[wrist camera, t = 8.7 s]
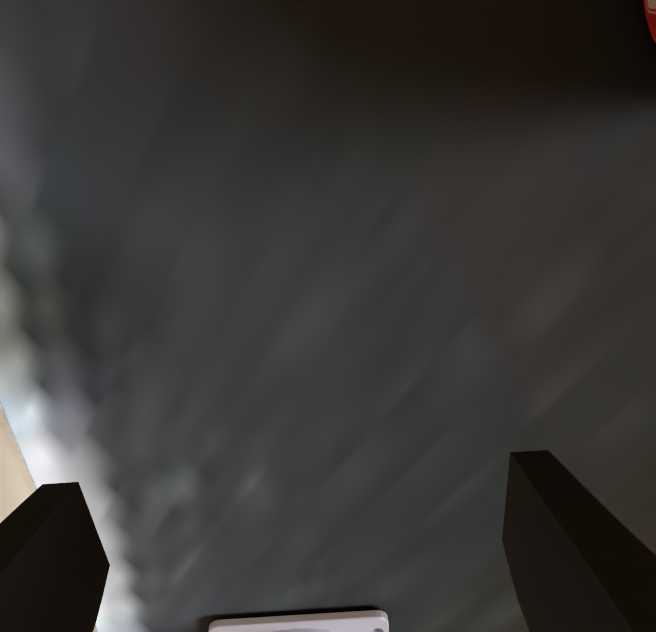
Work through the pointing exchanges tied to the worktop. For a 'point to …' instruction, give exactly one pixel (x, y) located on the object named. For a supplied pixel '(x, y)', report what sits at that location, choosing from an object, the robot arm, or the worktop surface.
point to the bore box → (12, 473)
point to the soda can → (651, 16)
